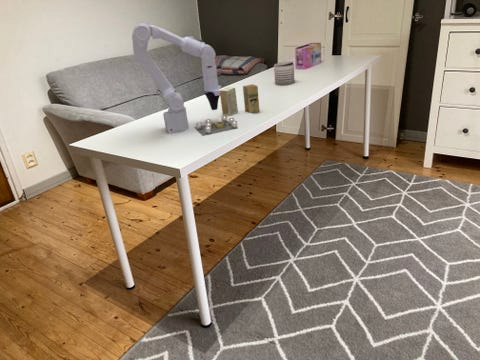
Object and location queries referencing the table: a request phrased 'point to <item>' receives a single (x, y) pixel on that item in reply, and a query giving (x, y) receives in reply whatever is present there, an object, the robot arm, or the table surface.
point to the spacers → (209, 124)
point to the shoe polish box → (251, 99)
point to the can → (284, 73)
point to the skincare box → (228, 101)
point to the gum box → (307, 55)
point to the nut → (220, 125)
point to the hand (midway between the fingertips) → (214, 109)
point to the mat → (215, 129)
